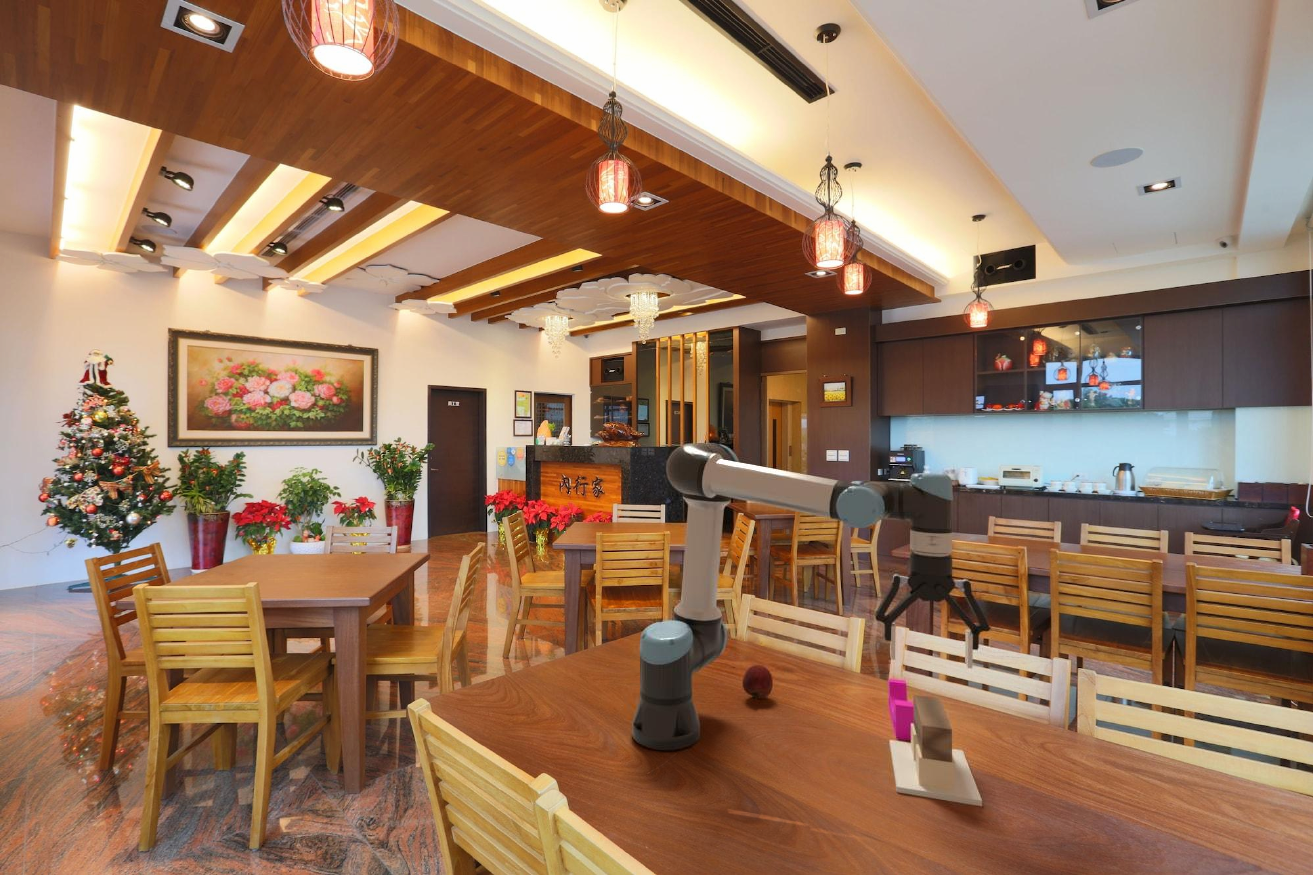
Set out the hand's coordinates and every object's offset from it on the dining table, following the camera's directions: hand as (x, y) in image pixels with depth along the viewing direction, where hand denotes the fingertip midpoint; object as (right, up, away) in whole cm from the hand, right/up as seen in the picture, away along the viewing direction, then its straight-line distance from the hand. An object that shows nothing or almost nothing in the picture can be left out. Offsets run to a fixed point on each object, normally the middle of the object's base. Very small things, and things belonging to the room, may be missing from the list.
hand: (930, 661), depth 115 cm
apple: (-28, -22, +34) cm, 49 cm away
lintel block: (0, -16, 0) cm, 16 cm away
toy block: (+4, -22, +19) cm, 30 cm away
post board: (0, -22, 0) cm, 22 cm away
